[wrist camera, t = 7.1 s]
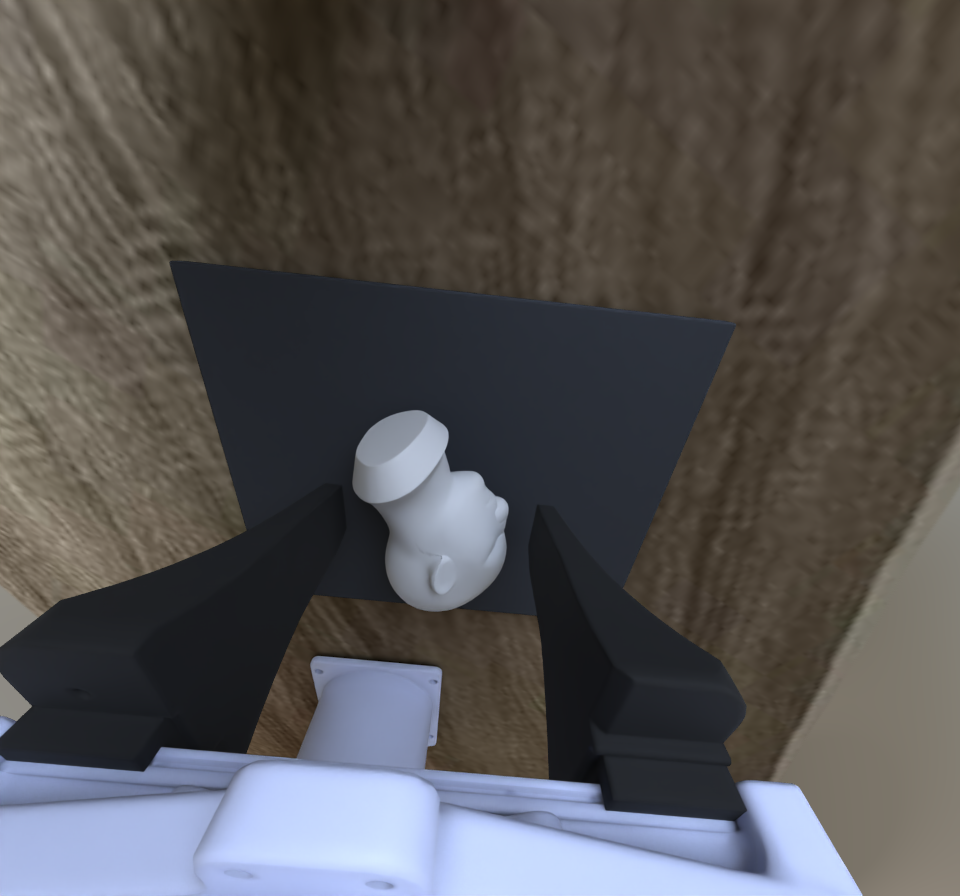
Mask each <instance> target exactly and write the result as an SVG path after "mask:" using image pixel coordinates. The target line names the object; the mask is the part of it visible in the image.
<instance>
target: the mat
mask: <svg viewBox="0 0 960 896" xmlns="http://www.w3.org/2000/svg"><path fill="white" fill-rule="evenodd" d="M170 267H171V270H172V274H173V277H174V281H175V284H176V288H177V291H178V294H179V298H180V301H181V305H182V308H183V312H184V315H185V319H186V322H187V326H188V329H189V332H190V336H191V339H192V343H193V346H194V350H195V353H196V357H197V360H198V364H199V367H200V370H201V374H202V377H203V381H204V384H205V388H206V391H207V395H208V398H209V402H210V405H211V409H212V412H213V415H214V419H215V422H216V426H217V429H218V433H219V436H220V440H221V443H222V447H223V450H224V453H225V457H226V460H227V464H228V467H229V471H230V474H231V478H232V481H233V485H234V488H235V491H236V495H237V498H238V502H239V505H240V509H241V512H242V516H243V519H244V523H245V526H246V529H247V530H249V529H251V528H253V527H254V526H256V525H258V524H260V523H261V522H263V521H265V520H267V519H268V518H270V517H272V516H274V515H275V514H277V513H279V512H280V511H282V510H283V509H285V508H287V507H288V506H290V505H291V504H293V503H294V502H296V501H298V500H299V499H301V498H302V497H304V496H305V495H307V494H309V493H310V492H312V491H313V490H315V489H316V488H318V487H320V486H321V485H323V484H325V483H328V484H338V485H342V490H343V499H344V508H345V517H346V526H347V529H346V531H345V534H344V536H343V539H342V542H341V544H340V546H339V549H338V551H337V553H336V555H335V557H334V559H333V561H332V562H331V564H330V566H329V568H328V570H327V571H326V573H325V575H324V577H323V578H322V580H321V582H320V584H319V585H318V587H317V589H316V591H315V592H314V594H313V595H322V596H333V597H343V598H354V599H365V600H375V601H386V602H396V603H406V602H405V601H404V600H403V599H402V598H401V597H400V596H399V595H398V594H397V593H396V592H395V590H394V589H393V587H392V586H391V584H390V581H389V579H388V576H387V572H386V566H385V553H386V547H387V543H388V539H389V534H390V531H389V527H388V525H387V523H386V521H385V520H384V518H383V517H382V515H381V514H380V513H379V511H378V510H377V509H376V508H375V507H374V506H373V505H371V504H370V503H367V502H365V501H363V500H362V499H361V498H359V497H358V495H357V494H356V493H355V491H354V489H353V484H352V481H353V472H354V464H355V456H356V450H357V447H358V445H359V443H360V442H361V440H362V439H363V437H364V436H365V434H366V433H367V432H368V430H369V429H370V428H371V427H373V426H374V425H375V424H376V423H378V422H379V421H381V420H383V419H384V418H386V417H389V416H391V415H394V414H397V413H401V412H405V411H413V410H419V411H423V412H425V413H427V414H428V415H430V416H431V417H433V418H434V419H436V420H437V421H439V422H440V423H442V424H443V425H444V426H445V427H446V428H447V430H448V435H449V438H448V443H447V447H446V449H445V451H444V452H445V455H446V458H447V461H448V464H449V468H450V472H456V471H473V472H477V473H478V474H480V475H481V477H482V478H483V480H484V484H485V486H486V487H487V488H488V490H490V491H491V492H492V493H493V494H494V495H495V496H498V497H501V498H503V499H504V500H505V501H506V502H507V504H508V516H507V519H506V525H505V528H504V533H505V538H506V546H507V550H506V556H505V561H504V564H503V566H502V569H501V571H500V572H499V574H498V576H497V577H496V579H495V580H494V581H493V582H492V583H491V584H490V586H489V587H488V588H486V589H485V590H484V591H483V592H482V593H481V594H479V595H478V596H477V597H475V598H474V599H472V600H471V601H469V602H467V603H466V604H464V605H462V606H459V607H457V608H460V609H471V610H482V611H492V612H503V613H513V614H524V615H535V616H537V612H536V607H535V601H534V595H533V590H532V584H531V578H530V572H529V556H528V544H529V539H530V535H531V530H532V526H533V521H534V517H535V512H536V508H537V504H539V505H549V506H554V507H555V508H556V510H557V511H558V513H559V514H560V515H561V517H562V518H563V520H564V521H565V522H566V524H567V525H568V527H569V528H570V529H571V531H572V532H573V533H574V535H575V536H576V537H577V539H578V540H579V541H580V542H581V544H582V545H583V546H584V548H585V549H586V550H587V551H588V553H589V554H590V555H591V556H592V557H593V558H594V559H595V561H596V562H597V563H598V564H599V565H600V566H601V567H602V568H603V569H604V570H605V572H606V573H607V574H608V575H609V576H610V577H611V578H612V579H613V580H615V581H616V582H617V583H618V584H619V585H620V586H621V587H622V588H623V587H624V584H625V582H626V580H627V577H628V575H629V573H630V570H631V568H632V566H633V563H634V561H635V559H636V557H637V554H638V552H639V550H640V547H641V545H642V543H643V540H644V538H645V536H646V533H647V531H648V529H649V526H650V524H651V522H652V519H653V517H654V515H655V512H656V510H657V508H658V505H659V503H660V501H661V498H662V496H663V494H664V491H665V489H666V487H667V485H668V482H669V480H670V478H671V475H672V473H673V471H674V468H675V466H676V464H677V461H678V459H679V457H680V454H681V452H682V450H683V447H684V445H685V443H686V440H687V438H688V436H689V433H690V431H691V429H692V426H693V424H694V422H695V419H696V417H697V415H698V413H699V410H700V408H701V406H702V403H703V401H704V399H705V396H706V394H707V392H708V389H709V387H710V385H711V382H712V380H713V378H714V375H715V373H716V371H717V368H718V366H719V364H720V361H721V359H722V357H723V354H724V352H725V350H726V347H727V345H728V343H729V341H730V338H731V336H732V334H733V331H734V329H735V327H736V324H735V323H732V322H727V321H720V320H711V319H702V318H693V317H684V316H675V315H666V314H657V313H648V312H639V311H630V310H621V309H612V308H603V307H594V306H585V305H576V304H567V303H558V302H549V301H540V300H531V299H522V298H513V297H504V296H495V295H486V294H477V293H468V292H459V291H450V290H441V289H432V288H423V287H414V286H405V285H396V284H387V283H378V282H369V281H360V280H351V279H342V278H333V277H324V276H315V275H306V274H297V273H288V272H279V271H270V270H261V269H252V268H243V267H234V266H225V265H216V264H207V263H198V262H189V261H170ZM407 604H408V603H407Z"/></svg>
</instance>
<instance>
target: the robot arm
mask: <svg viewBox="0 0 960 896" xmlns="http://www.w3.org/2000/svg"><path fill="white" fill-rule="evenodd" d="M346 529H347V526H346V517H345V508H344V499H343V490H342V485H338V484H328V483H325V484H323V485H321V486H320V487H318V488H316V489H315V490H313V491H312V492H310V493H309V494H307V495H305V496H304V497H302V498H301V499H299V500H298V501H296V502H294V503H293V504H291V505H290V506H288V507H287V508H285V509H283V510H282V511H280V512H279V513H277V514H275V515H274V516H272V517H270V518H268V519H267V520H265V521H263V522H261V523H260V524H258V525H256V526H254V527H253V528H251V529H249V530H247V531H245V532H244V533H242V534H240V535H238V536H236V537H234V538H232V539H230V540H228V541H226V542H224V543H222V544H219V545H217V546H215V547H213V548H211V549H209V550H206V551H204V552H202V553H199V554H197V555H194V556H192V557H190V558H187V559H185V560H182V561H180V562H178V563H175V564H173V565H170V566H167V567H165V568H162V569H159V570H157V571H154V572H151V573H148V574H145V575H142V576H139V577H137V578H134V579H131V580H128V581H125V582H121V583H118V584H115V585H112V586H109V587H105V588H102V589H98V590H95V591H92V592H88V593H85V594H81V595H78V596H75V597H71V598H67V599H64V600H61V601H59V602H58V603H57V604H55V605H54V606H53V607H51V608H50V609H49V610H48V611H46V612H45V613H44V614H42V615H41V616H40V617H39V618H37V619H36V620H35V621H33V622H32V623H31V624H30V625H28V626H27V627H26V628H24V629H23V630H22V631H21V632H19V633H18V634H17V635H15V636H14V637H13V638H12V639H11V640H9V641H8V642H6V643H5V644H4V645H3V646H1V647H0V673H1V674H2V675H3V677H4V678H5V679H6V680H7V681H8V682H9V683H10V684H11V685H12V686H13V687H14V688H15V689H16V690H17V691H18V692H19V693H20V694H21V695H22V696H23V697H24V698H25V699H26V700H27V701H28V702H29V703H30V704H31V705H32V707H31V708H30V709H29V710H28V711H27V712H26V713H25V714H24V715H23V716H22V717H21V718H20V719H19V720H18V721H17V722H16V721H15V720H13V719H10V718H7V717H4V716H0V896H863V895H862V893H861V892H860V890H859V888H858V887H857V885H856V883H855V881H854V880H853V878H852V876H851V875H850V873H849V872H848V870H847V868H846V866H845V865H844V863H843V861H842V859H841V858H840V856H839V854H838V853H837V851H836V849H835V848H834V846H833V844H832V843H831V841H830V839H829V837H828V836H827V834H826V832H825V830H824V829H823V827H822V825H821V824H820V822H819V820H818V819H817V817H816V815H815V813H814V812H813V810H812V809H811V807H810V805H809V804H808V802H807V800H806V798H805V797H804V795H803V793H802V792H801V790H800V788H799V787H798V786H796V785H795V784H792V783H781V782H769V781H757V780H744V781H740V782H737V783H734V781H733V779H732V777H731V775H730V773H729V770H728V768H727V766H730V765H731V758H730V756H729V754H728V752H727V750H726V748H725V746H724V744H723V743H724V742H725V740H726V739H727V738H728V737H729V736H730V735H731V734H732V733H733V732H734V731H735V730H736V728H737V727H738V726H739V725H740V724H741V722H742V721H743V719H744V717H745V714H746V704H745V702H744V700H743V698H742V696H741V695H740V693H739V691H738V689H737V687H736V686H735V684H734V682H733V680H732V679H731V677H730V675H729V674H728V672H727V670H726V669H725V667H724V666H723V664H722V663H721V661H720V660H718V659H717V658H715V657H714V656H712V655H711V654H709V653H708V652H706V651H704V650H703V649H701V648H700V647H698V646H697V645H695V644H694V643H692V642H691V641H689V640H688V639H686V638H685V637H683V636H682V635H680V634H679V633H677V632H676V631H675V630H673V629H672V628H671V627H669V626H668V625H666V624H665V623H664V622H662V621H661V620H660V619H658V618H657V617H656V616H655V615H653V614H652V613H651V612H649V611H648V610H647V609H646V608H645V607H643V606H642V605H641V604H640V603H639V602H638V601H636V600H635V599H634V598H633V597H632V596H631V595H629V594H628V593H627V592H626V591H625V590H624V589H623V588H622V587H621V586H620V585H619V584H618V583H617V582H616V581H615V580H613V579H612V578H611V577H610V576H609V575H608V574H607V573H606V572H605V570H604V569H603V568H602V567H601V566H600V565H599V564H598V563H597V562H596V561H595V559H594V558H593V557H592V556H591V555H590V554H589V553H588V551H587V550H586V549H585V548H584V546H583V545H582V544H581V542H580V541H579V540H578V539H577V537H576V536H575V535H574V533H573V532H572V531H571V529H570V528H569V527H568V525H567V524H566V522H565V521H564V520H563V518H562V517H561V515H560V514H559V513H558V511H557V510H556V508H555V507H554V506H549V505H539V504H537V508H536V512H535V517H534V521H533V526H532V530H531V535H530V539H529V544H528V556H529V572H530V578H531V584H532V590H533V595H534V601H535V607H536V612H537V618H538V623H539V629H540V636H541V645H542V657H543V670H544V685H545V700H546V719H547V738H548V764H549V780H544V779H532V778H520V777H509V776H497V775H485V774H473V773H462V772H450V771H438V770H426V769H425V762H426V755H427V747H428V746H434V745H435V744H436V740H437V729H438V717H439V705H440V692H441V680H442V670H441V669H440V668H439V667H435V666H426V665H415V664H404V663H393V662H382V661H371V660H360V659H349V658H338V657H327V656H316V657H314V658H313V659H312V661H311V663H310V667H311V672H312V676H313V680H314V685H315V689H316V693H317V697H318V702H319V703H318V705H317V708H316V710H315V713H314V715H313V718H312V720H311V723H310V725H309V728H308V730H307V733H306V735H305V738H304V740H303V743H302V745H301V748H300V750H299V753H298V755H297V758H285V757H273V756H262V755H250V754H246V753H247V750H248V747H249V744H250V742H251V739H252V736H253V733H254V731H255V728H256V725H257V722H258V720H259V717H260V714H261V712H262V709H263V706H264V704H265V701H266V699H267V696H268V694H269V691H270V688H271V686H272V683H273V681H274V678H275V676H276V673H277V671H278V669H279V666H280V664H281V661H282V659H283V657H284V654H285V652H286V649H287V647H288V645H289V643H290V640H291V638H292V636H293V634H294V631H295V629H296V627H297V625H298V622H299V620H300V618H301V616H302V614H303V612H304V610H305V608H306V607H307V605H308V603H309V601H310V600H311V598H312V596H313V594H314V592H315V591H316V589H317V587H318V585H319V584H320V582H321V580H322V578H323V577H324V575H325V573H326V571H327V570H328V568H329V566H330V564H331V562H332V561H333V559H334V557H335V555H336V553H337V551H338V549H339V546H340V544H341V542H342V539H343V536H344V534H345V531H346Z"/></svg>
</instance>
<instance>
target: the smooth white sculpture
mask: <svg viewBox="0 0 960 896" xmlns="http://www.w3.org/2000/svg"><path fill="white" fill-rule="evenodd" d="M448 438H449V435H448V430H447V428H446V427H445V426H444V425H443V424H442V423H440V422H439V421H437V420H436V419H434V418H433V417H431V416H430V415H428V414H427V413H425V412H423V411H419V410H413V411H405V412H401V413H397V414H394V415H391V416H389V417H386V418H384V419H383V420H381V421H379V422H378V423H376V424H375V425H374V426H373V427H371V428H370V429H369V430H368V432H367V433H366V434H365V436H364V437H363V439H362V440H361V442H360V443H359V445H358V447H357V450H356V456H355V464H354V472H353V481H352V484H353V489H354V491H355V493H356V494H357V495H358V497H359V498H361V499H362V500H363V501H365V502H367V503H370V504H371V505H373V506H374V507H375V508H376V509H377V510H378V511H379V513H380V514H381V515H382V517H383V518H384V520H385V521H386V523H387V525H388V527H389V531H390V534H389V539H388V543H387V547H386V553H385V566H386V572H387V576H388V579H389V581H390V584H391V586H392V587H393V589H394V590H395V592H396V593H397V594H398V595H399V596H400V597H401V598H402V599H403V600H404V601H405V602H406V603H408V604H409V605H411V606H413V607H415V608H418V609H420V610H425V611H435V612H437V611H446V610H451V609H454V608H457V607H459V606H462V605H464V604H466V603H467V602H469V601H471V600H472V599H474V598H475V597H477V596H478V595H479V594H481V593H482V592H483V591H484V590H485V589H486V588H488V587H489V586H490V584H491V583H492V582H493V581H494V580H495V579H496V577H497V576H498V574H499V572H500V571H501V569H502V566H503V564H504V561H505V556H506V550H507V546H506V538H505V533H504V528H505V525H506V519H507V516H508V504H507V502H506V501H505V500H504V499H503V498H501V497H498V496H495V495H494V494H493V493H492V492H491V491H490V490H488V488H487V487H486V486H485V484H484V480H483V478H482V477H481V475H480V474H478V473H477V472H473V471H456V472H450V468H449V464H448V461H447V458H446V455H445V452H444V451H445V449H446V447H447V443H448Z"/></svg>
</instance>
